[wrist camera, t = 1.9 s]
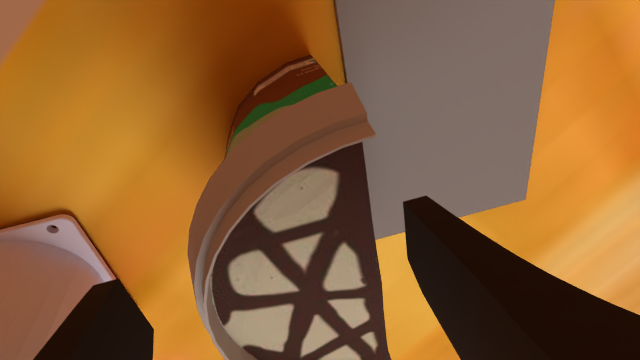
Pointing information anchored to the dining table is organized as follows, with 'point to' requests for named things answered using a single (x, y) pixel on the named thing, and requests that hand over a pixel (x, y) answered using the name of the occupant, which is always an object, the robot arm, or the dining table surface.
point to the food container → (291, 227)
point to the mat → (445, 99)
